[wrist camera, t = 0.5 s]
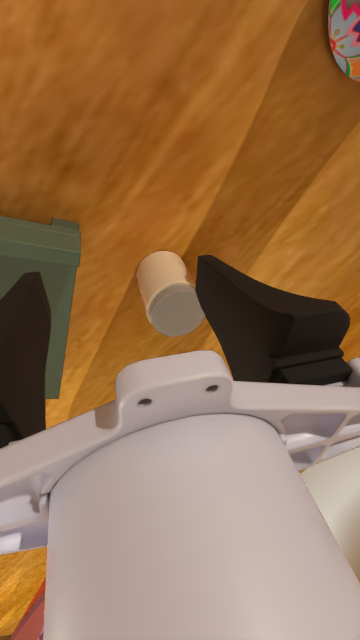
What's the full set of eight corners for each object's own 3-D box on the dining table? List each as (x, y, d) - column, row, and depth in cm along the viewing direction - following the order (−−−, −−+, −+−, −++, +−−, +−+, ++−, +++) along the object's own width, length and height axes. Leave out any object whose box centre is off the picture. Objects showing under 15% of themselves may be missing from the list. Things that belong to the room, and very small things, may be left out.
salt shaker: (177, 299, 28) (197, 341, 24) (130, 292, 27) (141, 336, 22) (192, 255, 26) (217, 292, 21) (142, 245, 24) (157, 283, 20)
